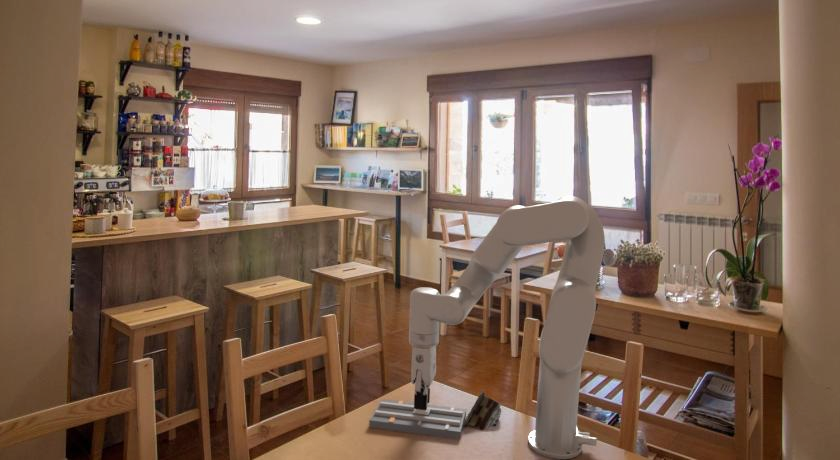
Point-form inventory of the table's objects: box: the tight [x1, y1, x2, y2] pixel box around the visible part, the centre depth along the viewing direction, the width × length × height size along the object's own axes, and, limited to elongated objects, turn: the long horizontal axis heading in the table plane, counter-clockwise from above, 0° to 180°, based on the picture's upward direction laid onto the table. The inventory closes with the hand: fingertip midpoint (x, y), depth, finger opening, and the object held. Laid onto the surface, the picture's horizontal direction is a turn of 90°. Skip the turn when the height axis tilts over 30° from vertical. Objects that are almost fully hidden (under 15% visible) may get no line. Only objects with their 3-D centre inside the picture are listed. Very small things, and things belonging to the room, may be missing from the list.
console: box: [368, 398, 467, 441], centre depth 139 cm, size 23×12×3 cm, turn 79°
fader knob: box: [413, 386, 430, 417], centre depth 138 cm, size 4×3×7 cm
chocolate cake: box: [463, 388, 502, 431], centre depth 141 cm, size 10×7×12 cm
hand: (421, 405), depth 138 cm, fingers closed on fader knob, 3 cm apart
